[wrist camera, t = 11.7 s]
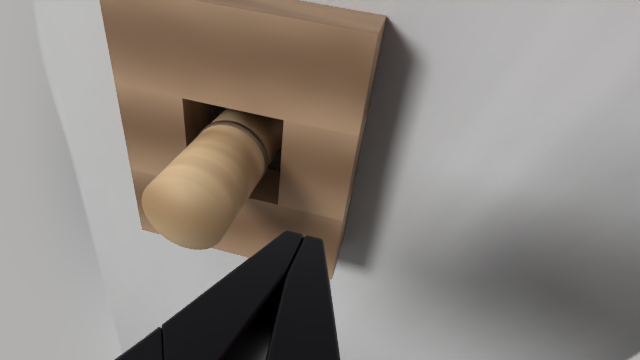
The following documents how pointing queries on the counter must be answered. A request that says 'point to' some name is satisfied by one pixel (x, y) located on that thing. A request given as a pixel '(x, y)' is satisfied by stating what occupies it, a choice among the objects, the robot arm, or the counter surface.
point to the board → (250, 100)
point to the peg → (212, 178)
